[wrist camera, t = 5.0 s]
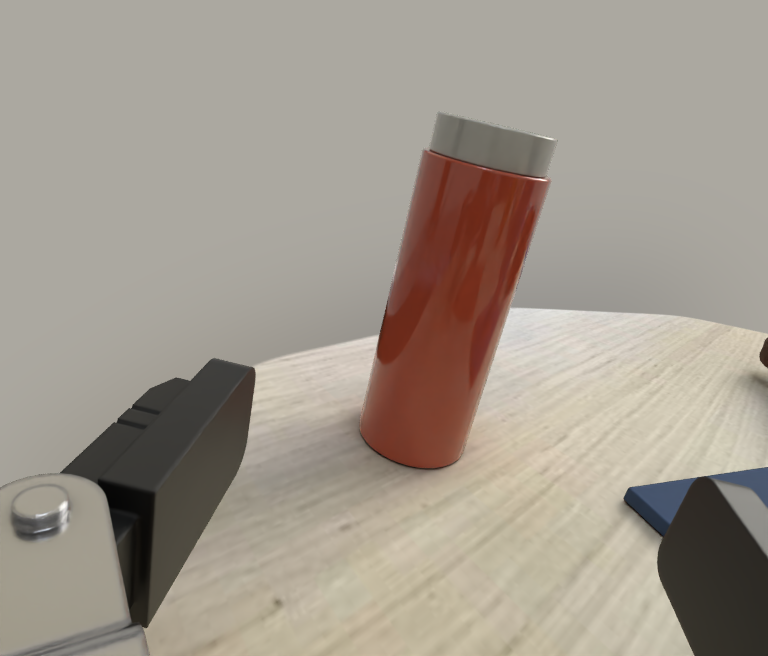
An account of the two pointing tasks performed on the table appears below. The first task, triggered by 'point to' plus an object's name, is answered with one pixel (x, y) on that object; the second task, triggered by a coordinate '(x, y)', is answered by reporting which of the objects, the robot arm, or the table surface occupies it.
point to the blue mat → (667, 497)
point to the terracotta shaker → (453, 286)
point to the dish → (764, 354)
